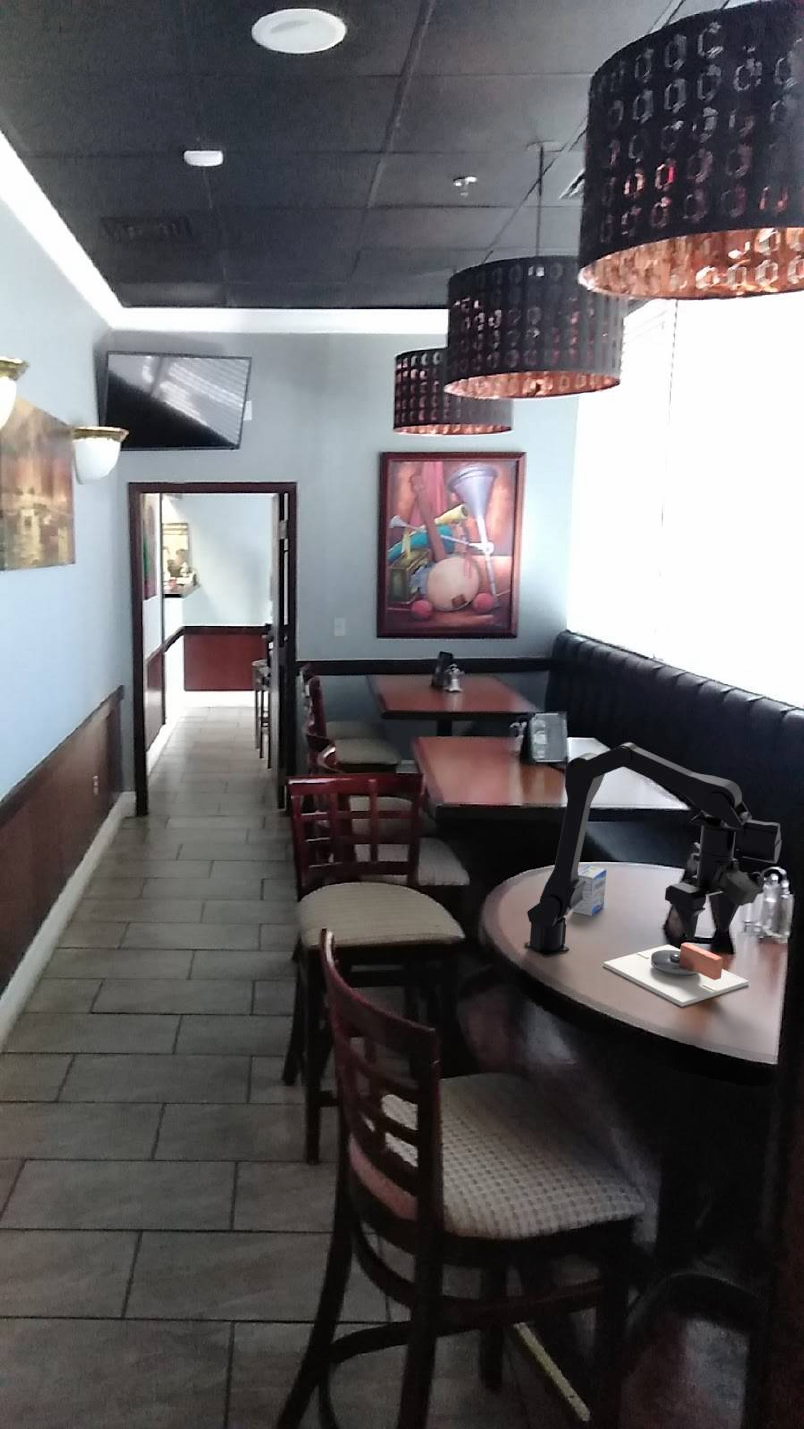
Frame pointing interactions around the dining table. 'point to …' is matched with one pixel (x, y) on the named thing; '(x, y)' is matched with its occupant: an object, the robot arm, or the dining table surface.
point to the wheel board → (672, 979)
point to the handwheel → (688, 962)
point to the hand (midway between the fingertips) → (707, 934)
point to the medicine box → (592, 890)
